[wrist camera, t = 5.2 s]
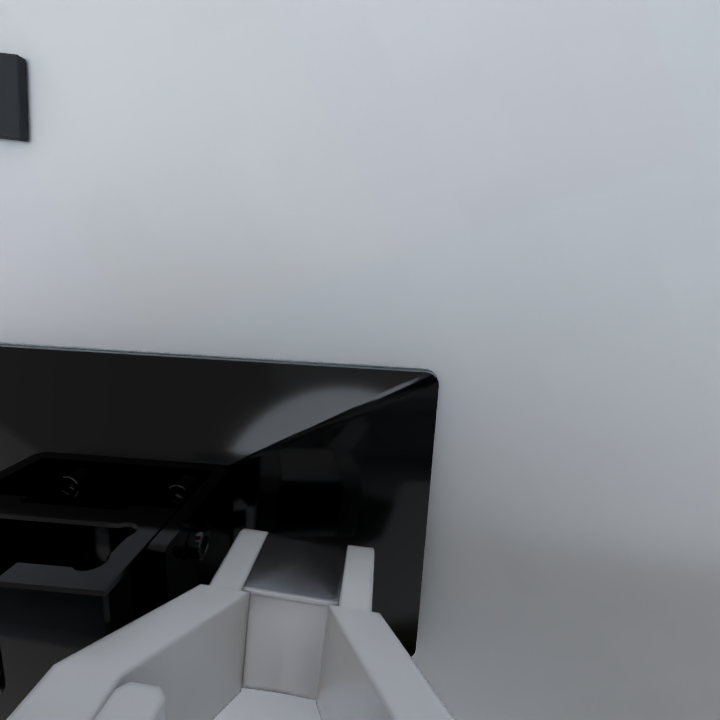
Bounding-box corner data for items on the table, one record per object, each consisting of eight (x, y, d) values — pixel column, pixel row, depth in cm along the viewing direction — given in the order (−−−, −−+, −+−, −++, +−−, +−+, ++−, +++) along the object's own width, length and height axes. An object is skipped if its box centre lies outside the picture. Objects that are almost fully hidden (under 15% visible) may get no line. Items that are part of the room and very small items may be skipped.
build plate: (437, 367, 9) (491, 462, 5) (412, 652, 11) (434, 935, 6) (-112, 335, 10) (-547, 392, 5) (-62, 611, 11) (-367, 843, 7)
